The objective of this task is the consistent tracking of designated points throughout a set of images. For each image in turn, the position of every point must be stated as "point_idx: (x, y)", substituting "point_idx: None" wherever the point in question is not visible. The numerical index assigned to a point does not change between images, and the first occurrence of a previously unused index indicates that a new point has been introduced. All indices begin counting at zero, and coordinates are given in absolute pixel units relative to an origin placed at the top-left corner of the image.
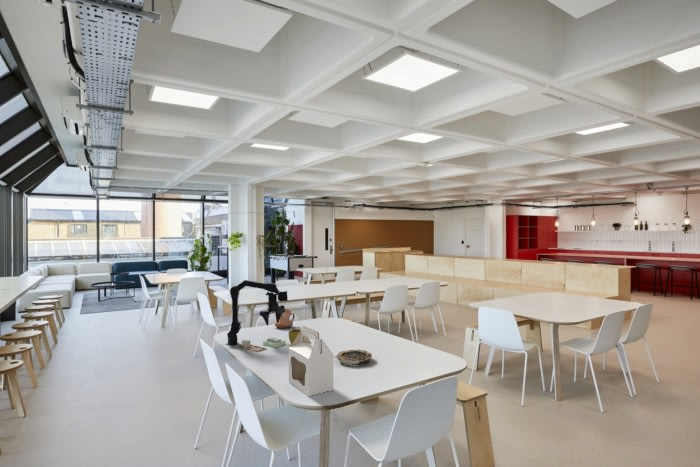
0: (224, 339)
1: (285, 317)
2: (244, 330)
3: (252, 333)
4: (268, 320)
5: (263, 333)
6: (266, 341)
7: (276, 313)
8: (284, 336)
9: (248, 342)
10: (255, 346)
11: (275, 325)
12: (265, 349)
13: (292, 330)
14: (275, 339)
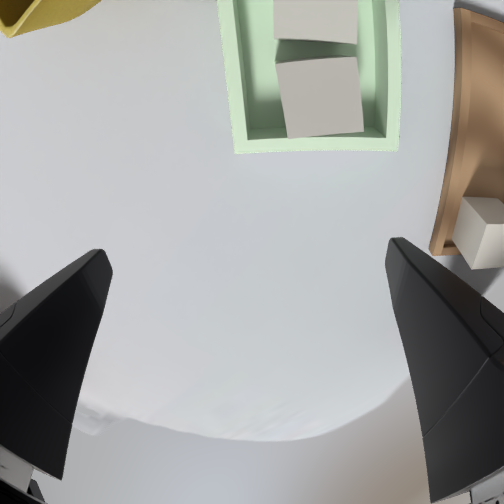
0: (375, 394)
1: None
2: (209, 425)
3: (208, 391)
4: (452, 305)
5: (160, 363)
6: (359, 134)
7: (42, 450)
8: (72, 231)
9: (495, 215)
10: (462, 149)
11: None
12: (472, 12)
13: (28, 15)
14: (333, 11)
